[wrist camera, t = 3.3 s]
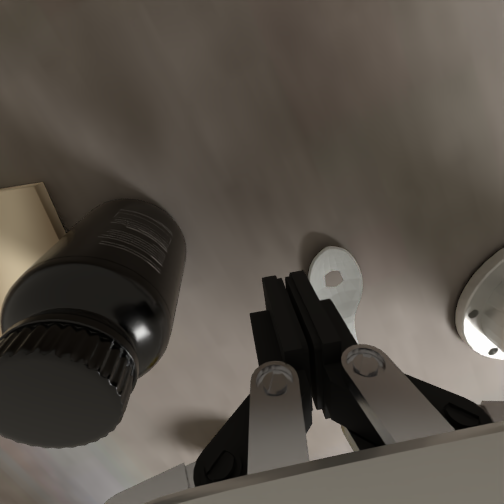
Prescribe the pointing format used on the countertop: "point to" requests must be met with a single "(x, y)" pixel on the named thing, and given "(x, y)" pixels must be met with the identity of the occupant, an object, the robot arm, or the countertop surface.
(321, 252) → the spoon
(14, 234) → the cutting board
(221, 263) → the countertop surface
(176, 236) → the supplement bottle
